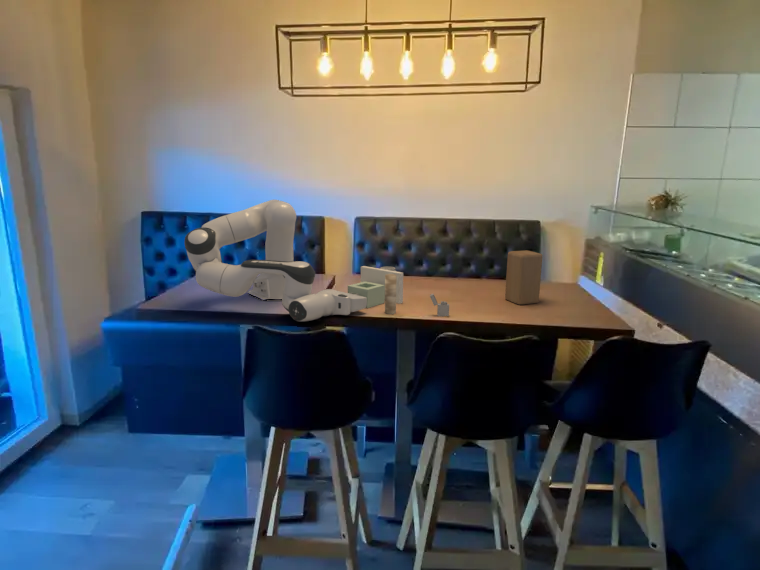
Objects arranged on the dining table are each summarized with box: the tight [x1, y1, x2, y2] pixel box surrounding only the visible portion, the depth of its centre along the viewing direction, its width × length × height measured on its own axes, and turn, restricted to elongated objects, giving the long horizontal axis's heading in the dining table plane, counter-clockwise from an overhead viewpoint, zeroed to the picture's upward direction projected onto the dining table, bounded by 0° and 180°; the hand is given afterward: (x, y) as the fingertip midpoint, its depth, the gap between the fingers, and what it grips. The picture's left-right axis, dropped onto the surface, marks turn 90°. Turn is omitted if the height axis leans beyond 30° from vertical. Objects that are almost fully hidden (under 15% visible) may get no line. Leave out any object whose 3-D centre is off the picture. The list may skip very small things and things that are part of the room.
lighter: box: [429, 293, 450, 317], centre depth 185 cm, size 7×2×8 cm, turn 81°
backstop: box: [360, 265, 404, 304], centre depth 195 cm, size 20×21×13 cm
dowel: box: [384, 274, 397, 315], centre depth 183 cm, size 4×4×15 cm
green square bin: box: [347, 281, 385, 309], centre depth 196 cm, size 10×10×7 cm
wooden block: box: [504, 249, 543, 306], centre depth 204 cm, size 10×10×20 cm
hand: (356, 295), depth 192 cm, fingers closed
